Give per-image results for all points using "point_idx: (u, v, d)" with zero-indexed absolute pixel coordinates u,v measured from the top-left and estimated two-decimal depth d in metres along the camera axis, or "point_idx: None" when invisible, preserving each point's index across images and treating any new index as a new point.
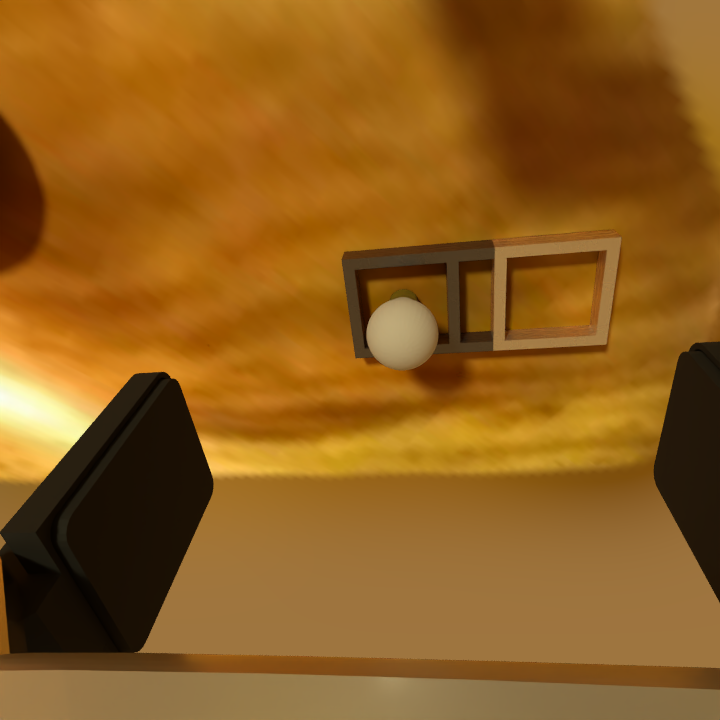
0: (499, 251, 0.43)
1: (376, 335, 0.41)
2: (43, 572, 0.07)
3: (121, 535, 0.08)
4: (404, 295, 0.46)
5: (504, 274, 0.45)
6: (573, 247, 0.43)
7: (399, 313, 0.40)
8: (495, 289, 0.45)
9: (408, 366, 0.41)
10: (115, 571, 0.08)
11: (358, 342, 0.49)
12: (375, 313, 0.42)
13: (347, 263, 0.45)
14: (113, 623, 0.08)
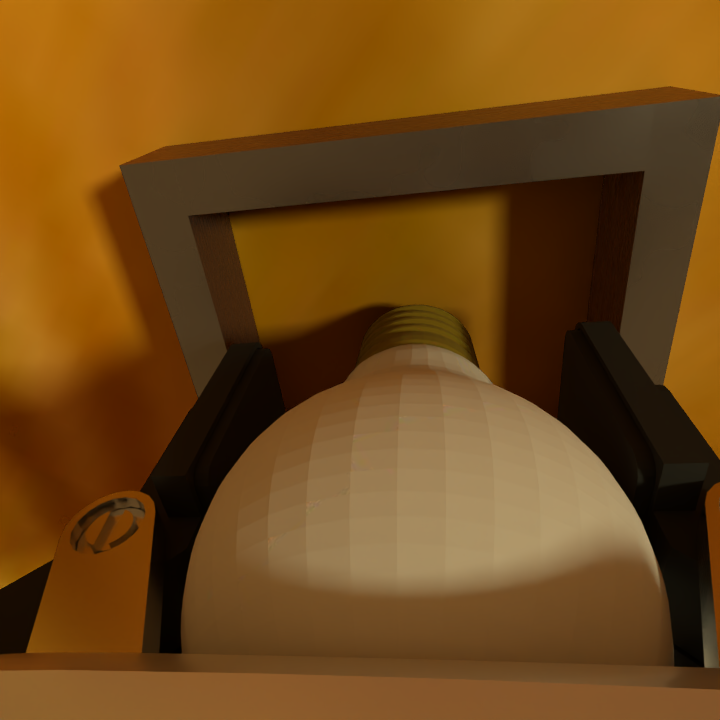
0: None
1: None
2: (185, 515, 0.07)
3: None
4: None
5: None
6: None
7: None
8: None
9: None
10: None
11: (217, 183, 0.09)
12: (608, 492, 0.05)
13: (692, 131, 0.08)
14: None
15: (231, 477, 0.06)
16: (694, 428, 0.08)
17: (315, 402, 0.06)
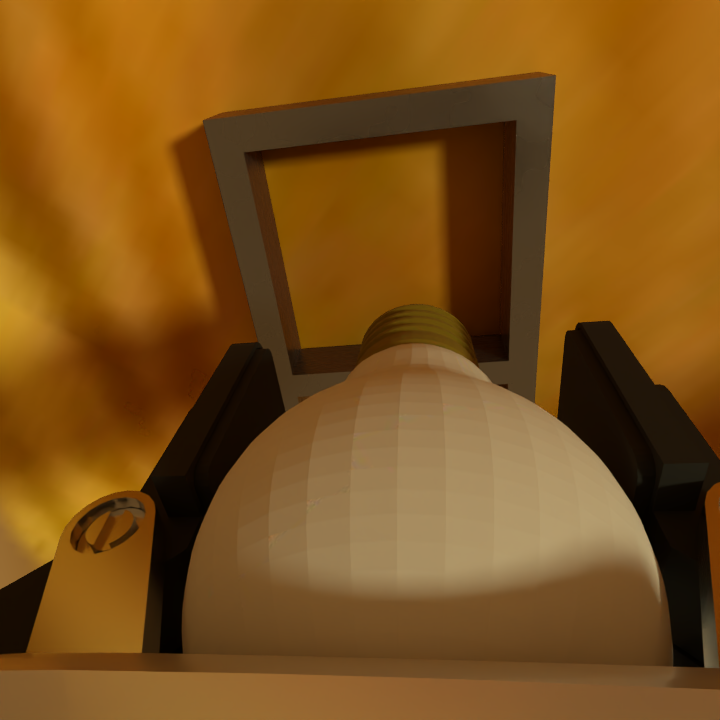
0: None
1: (540, 661, 0.04)
2: (185, 515, 0.07)
3: None
4: None
5: None
6: None
7: None
8: None
9: None
10: None
11: (263, 131, 0.15)
12: (607, 490, 0.05)
13: (540, 96, 0.14)
14: None
15: (231, 475, 0.06)
16: (694, 428, 0.08)
17: (315, 401, 0.06)
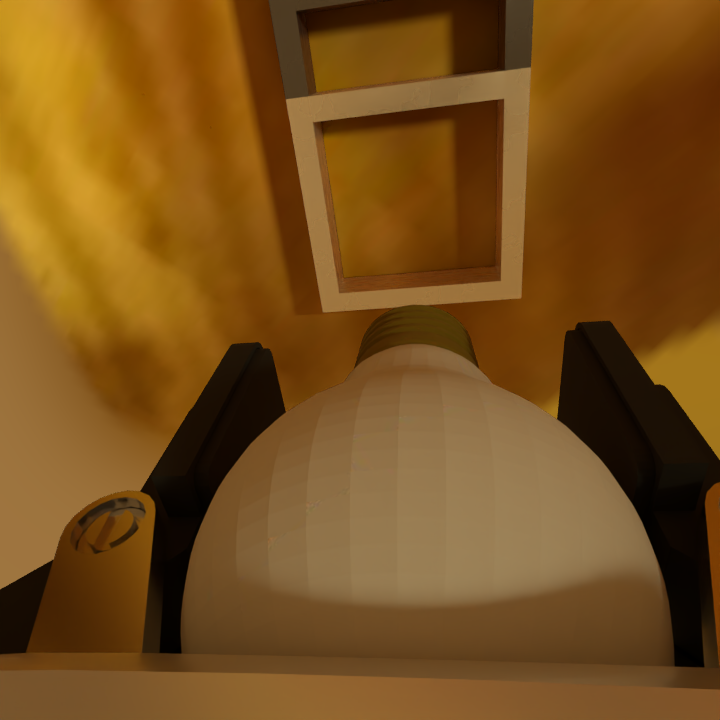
0: (520, 79, 0.21)
1: None
2: (185, 515, 0.07)
3: None
4: None
5: (467, 98, 0.21)
6: (511, 225, 0.24)
7: None
8: (433, 82, 0.21)
9: None
10: None
11: None
12: (609, 492, 0.05)
13: None
14: None
15: (231, 477, 0.06)
16: (694, 428, 0.08)
17: (315, 402, 0.06)
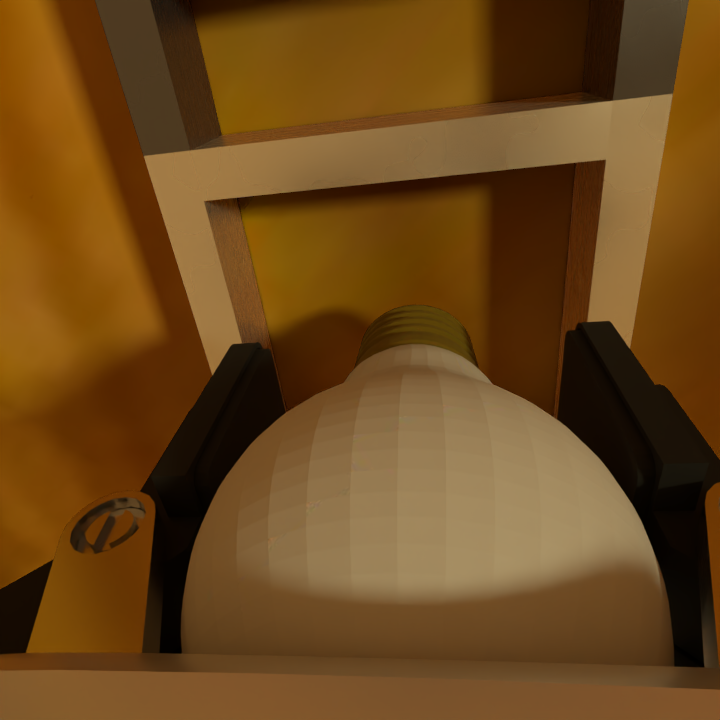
0: (645, 120, 0.09)
1: None
2: (185, 515, 0.07)
3: None
4: None
5: (525, 159, 0.10)
6: None
7: None
8: (454, 125, 0.10)
9: None
10: None
11: None
12: (608, 492, 0.05)
13: None
14: None
15: (231, 478, 0.06)
16: (694, 428, 0.08)
17: (315, 402, 0.06)
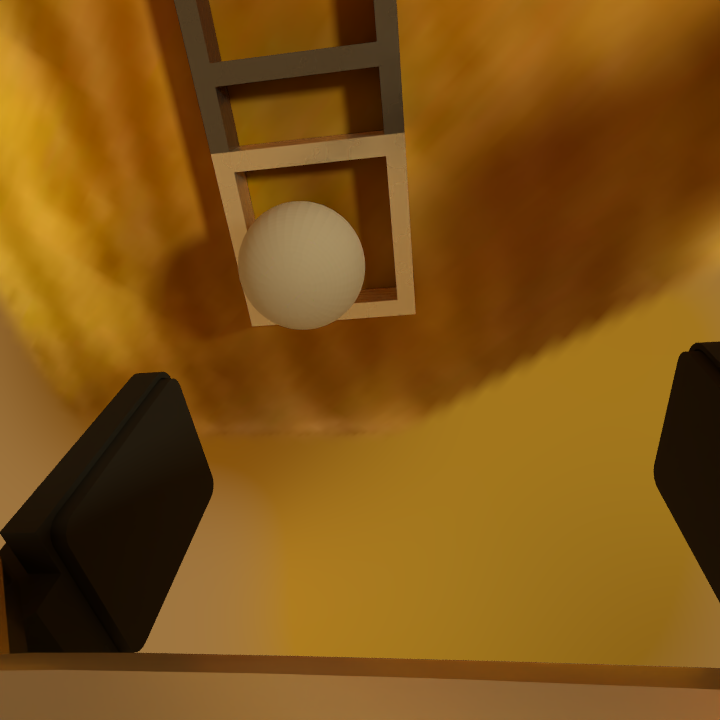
0: (397, 141, 0.26)
1: (311, 235, 0.22)
2: (43, 572, 0.07)
3: (121, 535, 0.08)
4: None
5: (356, 155, 0.27)
6: (402, 255, 0.29)
7: (354, 271, 0.23)
8: (329, 143, 0.26)
9: (256, 297, 0.23)
10: (115, 571, 0.08)
11: None
12: (340, 220, 0.23)
13: None
14: (113, 623, 0.08)
15: (250, 226, 0.24)
16: None
17: None
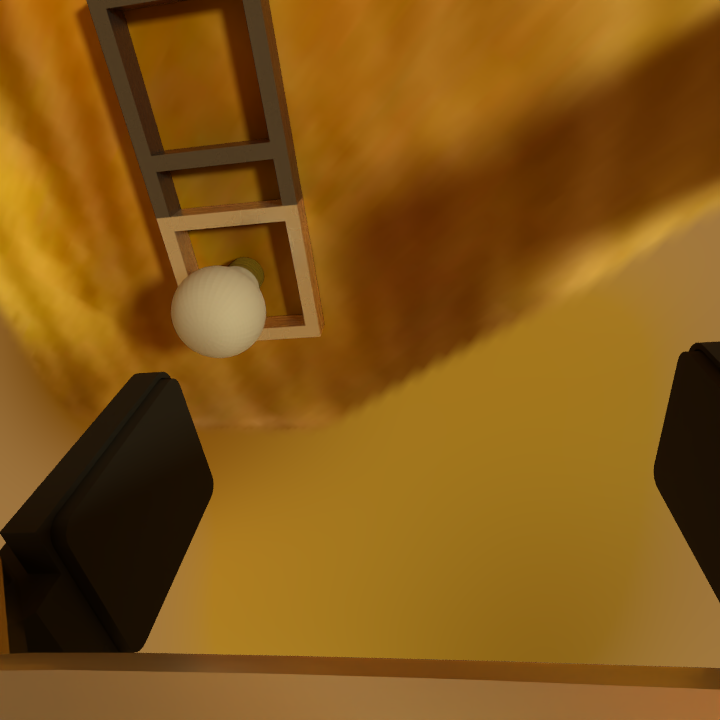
0: (292, 211, 0.35)
1: (217, 297, 0.31)
2: (43, 572, 0.07)
3: (121, 535, 0.08)
4: (259, 282, 0.37)
5: (263, 220, 0.35)
6: (305, 292, 0.38)
7: (251, 318, 0.32)
8: (242, 211, 0.35)
9: (183, 338, 0.32)
10: (115, 571, 0.08)
11: None
12: (241, 281, 0.32)
13: None
14: (113, 623, 0.08)
15: (179, 285, 0.33)
16: None
17: None
